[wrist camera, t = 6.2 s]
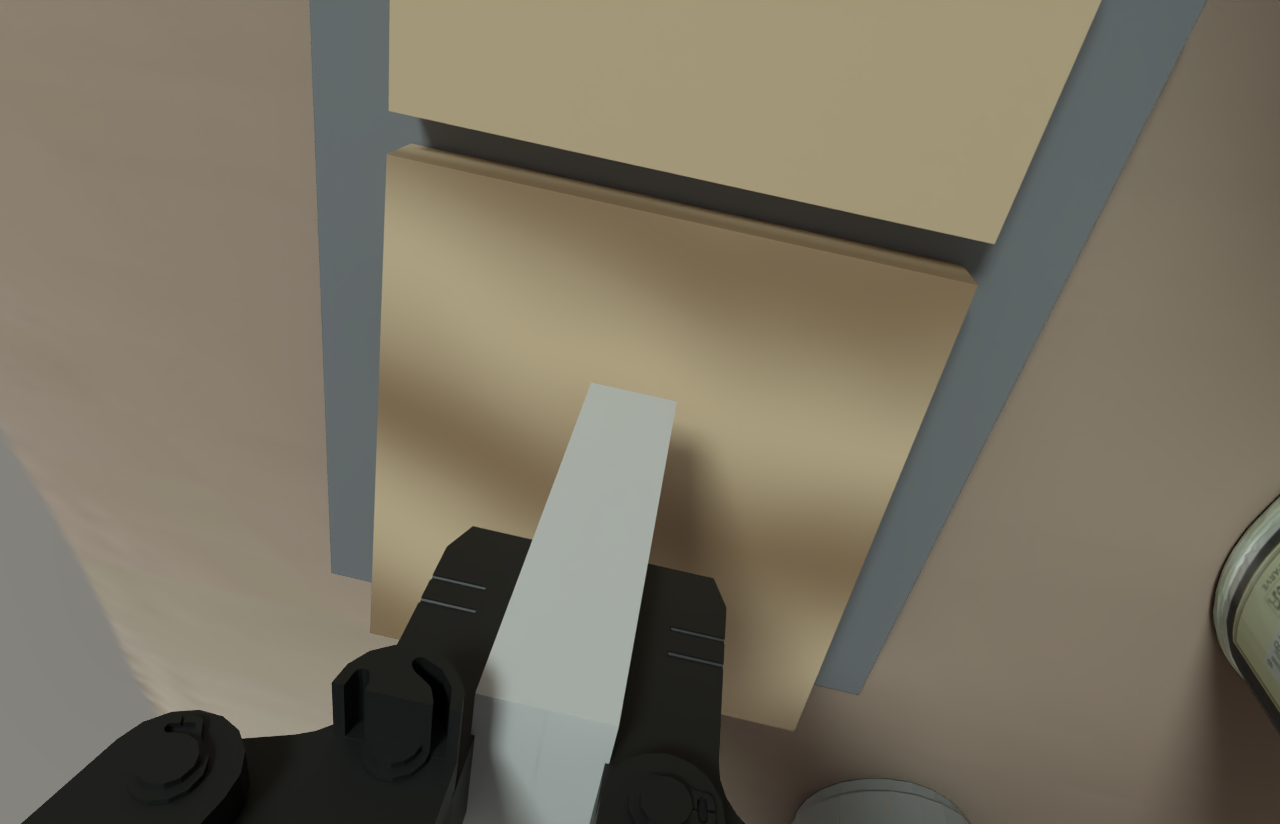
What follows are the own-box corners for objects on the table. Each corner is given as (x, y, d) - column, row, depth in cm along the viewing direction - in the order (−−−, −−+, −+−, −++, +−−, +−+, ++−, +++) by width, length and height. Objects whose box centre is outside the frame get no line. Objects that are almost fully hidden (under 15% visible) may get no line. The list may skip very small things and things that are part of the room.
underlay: (342, -225, 14) (260, -253, 12) (1186, -46, 14) (1268, -39, 12) (354, 538, 24) (310, 603, 21) (853, 652, 23) (862, 732, 21)
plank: (411, 143, 16) (386, 154, 15) (962, 265, 16) (978, 284, 14) (388, 601, 21) (369, 632, 20) (792, 694, 21) (794, 731, 20)
